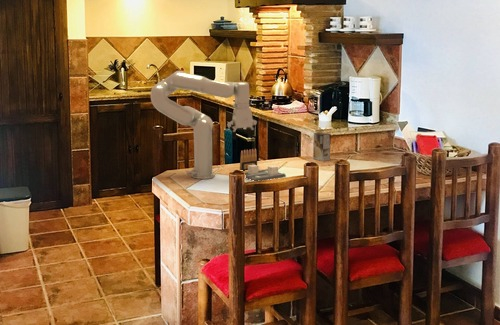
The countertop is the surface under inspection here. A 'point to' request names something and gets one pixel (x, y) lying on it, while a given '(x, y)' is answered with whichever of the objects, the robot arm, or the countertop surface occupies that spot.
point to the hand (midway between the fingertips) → (242, 138)
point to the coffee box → (321, 146)
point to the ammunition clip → (248, 159)
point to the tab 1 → (252, 169)
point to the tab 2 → (272, 170)
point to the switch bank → (263, 175)
